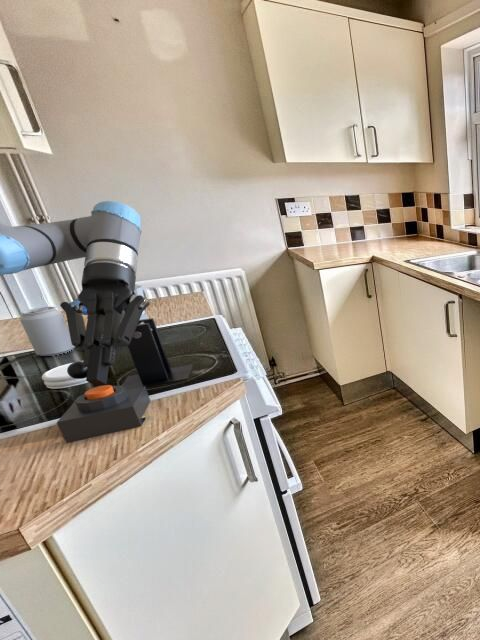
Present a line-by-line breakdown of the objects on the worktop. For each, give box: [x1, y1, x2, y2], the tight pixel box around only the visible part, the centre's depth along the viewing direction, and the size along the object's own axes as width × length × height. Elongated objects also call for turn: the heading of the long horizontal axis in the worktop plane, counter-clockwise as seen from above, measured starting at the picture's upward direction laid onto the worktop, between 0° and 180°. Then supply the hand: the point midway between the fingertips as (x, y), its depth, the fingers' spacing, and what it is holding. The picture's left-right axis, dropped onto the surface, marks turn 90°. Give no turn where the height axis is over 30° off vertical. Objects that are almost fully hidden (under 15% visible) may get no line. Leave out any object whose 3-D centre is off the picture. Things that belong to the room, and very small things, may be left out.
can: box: [19, 306, 76, 357], centre depth 109 cm, size 8×8×12 cm
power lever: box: [67, 322, 152, 379], centre depth 87 cm, size 16×4×4 cm, turn 119°
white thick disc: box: [41, 362, 88, 390], centre depth 93 cm, size 10×10×4 cm
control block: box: [56, 385, 151, 444], centre depth 76 cm, size 10×9×6 cm
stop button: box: [84, 384, 114, 400], centre depth 75 cm, size 4×4×2 cm
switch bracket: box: [121, 317, 195, 390], centre depth 90 cm, size 12×9×14 cm
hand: (96, 382), depth 74 cm, fingers closed
